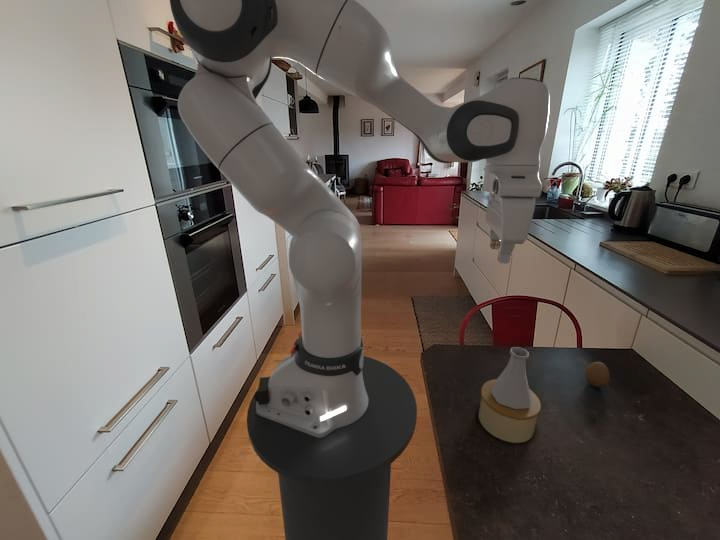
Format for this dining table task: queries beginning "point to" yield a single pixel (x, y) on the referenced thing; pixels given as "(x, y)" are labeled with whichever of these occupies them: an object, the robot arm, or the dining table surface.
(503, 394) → the flask
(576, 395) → the dining table surface
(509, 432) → the tea tin
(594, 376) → the egg
